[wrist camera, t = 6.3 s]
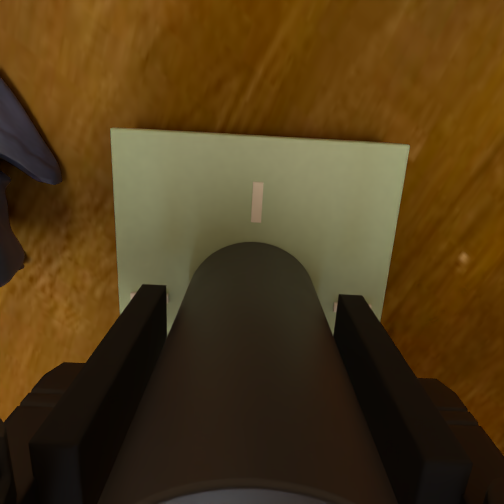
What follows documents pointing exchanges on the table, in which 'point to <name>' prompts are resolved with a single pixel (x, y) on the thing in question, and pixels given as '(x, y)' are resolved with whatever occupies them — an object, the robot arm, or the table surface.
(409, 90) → the table surface
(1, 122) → the frog
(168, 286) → the green dial base
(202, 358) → the dial
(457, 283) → the table surface
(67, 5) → the table surface
